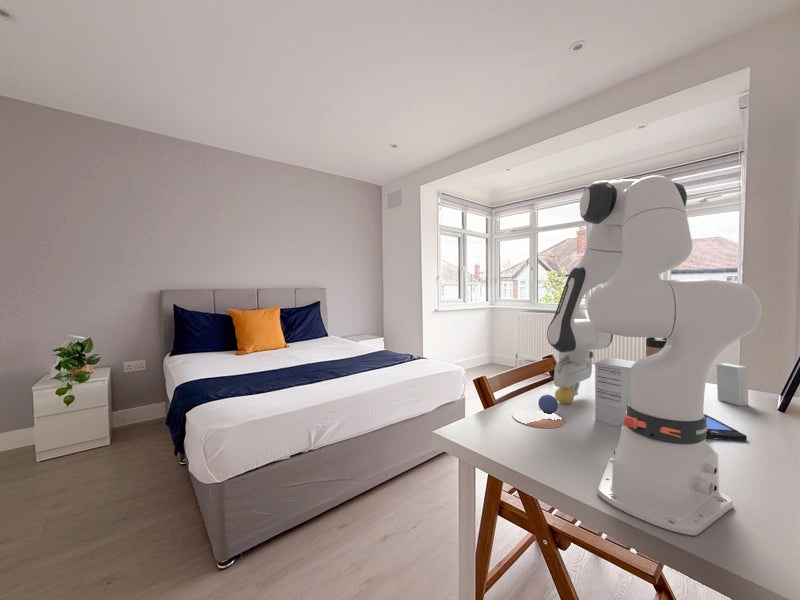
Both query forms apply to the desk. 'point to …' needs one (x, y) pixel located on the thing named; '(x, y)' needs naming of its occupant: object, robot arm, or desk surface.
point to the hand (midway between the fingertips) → (573, 395)
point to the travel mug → (654, 345)
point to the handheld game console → (722, 431)
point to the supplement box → (612, 390)
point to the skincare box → (732, 383)
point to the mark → (547, 423)
